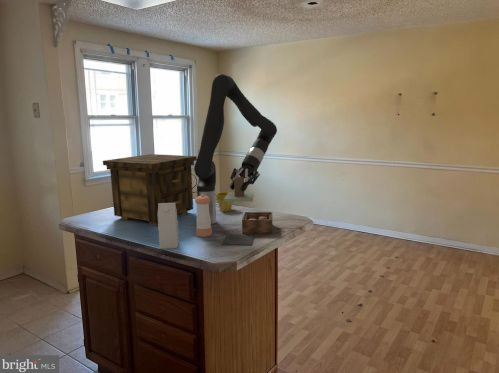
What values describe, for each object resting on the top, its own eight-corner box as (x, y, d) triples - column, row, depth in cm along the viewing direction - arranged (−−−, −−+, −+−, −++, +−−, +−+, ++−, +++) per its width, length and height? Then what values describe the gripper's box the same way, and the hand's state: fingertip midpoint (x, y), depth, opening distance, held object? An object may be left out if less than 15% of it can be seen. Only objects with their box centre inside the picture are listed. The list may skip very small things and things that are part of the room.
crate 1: (154, 206, 230) (150, 154, 223) (199, 212, 213) (196, 156, 206) (108, 220, 200) (102, 160, 194) (156, 229, 183) (151, 164, 177)
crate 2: (242, 233, 173) (242, 219, 172) (244, 224, 187) (244, 212, 185) (272, 233, 172) (272, 219, 171) (272, 225, 186) (272, 212, 184)
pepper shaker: (195, 232, 176) (193, 193, 172) (210, 231, 178) (208, 192, 174) (197, 237, 169) (195, 196, 165) (213, 235, 171) (211, 195, 167)
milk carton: (162, 243, 162) (159, 201, 158) (178, 242, 162) (176, 200, 159) (159, 249, 155) (156, 205, 151) (176, 248, 155) (174, 204, 152)
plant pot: (232, 212, 211) (231, 195, 209) (214, 211, 213) (214, 195, 211) (236, 208, 221) (235, 192, 219) (219, 207, 223) (219, 191, 221)
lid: (224, 201, 157) (223, 180, 155) (227, 195, 168) (227, 175, 166) (252, 201, 156) (252, 180, 154) (253, 195, 168) (253, 175, 166)
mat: (221, 245, 158) (221, 244, 158) (225, 235, 171) (225, 234, 171) (251, 245, 157) (251, 244, 157) (253, 235, 170) (253, 234, 170)
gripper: (237, 153, 168) (220, 183, 162) (262, 155, 160) (245, 186, 153) (244, 163, 174) (228, 192, 167) (269, 165, 165) (253, 196, 158)
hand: (236, 189), depth 160 cm, fingers closed on lid, 5 cm apart
